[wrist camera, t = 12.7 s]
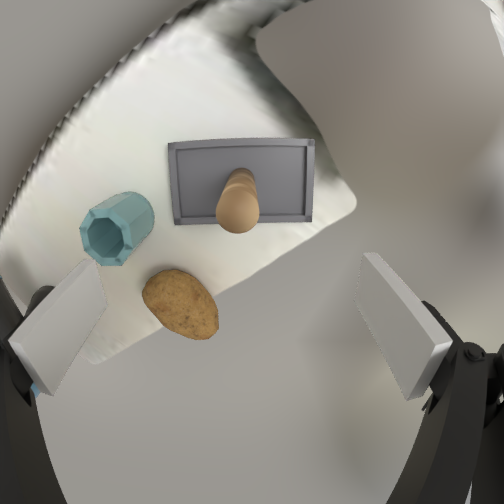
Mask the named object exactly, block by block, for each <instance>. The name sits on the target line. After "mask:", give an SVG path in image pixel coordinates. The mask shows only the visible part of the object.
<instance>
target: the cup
mask: <svg viewBox="0 0 504 504" xmlns="http://www.w3.org/2000/svg"><path fill="white" fill-rule="evenodd" d="M153 225H154V212H153V208H152V206H151V204H150V203H149V202H148V200H147V199H146V198H145V197H143V196H142V195H140V194H138V193H135V192H125V193H122V194H119V195H115V196H113V197H111V198H109V199H108V200H106V201H104V202H102V203H101V204H99V205H97V206H95V207H94V208H92V209H90V210H89V212H88V214H87V215H86V217H85V219H84V221H83V222H82V224H81V226H80V228H79V229H80V233H81V238H82V242H83V247H84V251H85V252H87V253H88V254H89V255H90V256H91V257H92V258H93V259H95V260H96V261H97V262H98V263H99V264H100V265H101V266H122V265H123V263H124V262H125V261H126V260H127V259H128V257H129V256H130V255H131V254H132V253H133V252H134V250H135V249H136V248H137V247H138V246H139V245H140V243H141V242H142V241H143V239H144V238H145V237H146V236H147V235H148V234H149V233H150V232H151V230H152V228H153Z"/></svg>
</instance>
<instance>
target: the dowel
mask: <svg viewBox="0 0 504 504" xmlns="http://www.w3.org/2000/svg"><path fill="white" fill-rule="evenodd" d="M216 218H217V221H218V223H219V224H220V225H221V227H222V228H224V229H225V230H227V231H228V232H231V233H244V232H247V231H249V230H250V229H252V228H253V227H254V226H255V225H256V223H257V221H258V219H259V205H258V199H257V192H256V186H255V179H254V175H253V173H252V172H251V171H250V170H248V169H246V168H237V169H235V170H234V171H232V173H231V174H230V176H229V179H228V181H227V183H226V186H225V188H224V190H223V193H222V195H221V197H220V200H219V202H218V204H217V207H216Z"/></svg>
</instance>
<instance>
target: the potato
mask: <svg viewBox="0 0 504 504" xmlns="http://www.w3.org/2000/svg"><path fill="white" fill-rule="evenodd" d="M142 297H143V300H144V303H145V304H146V306H147V307H148V308H149V309H150V311H151V312H152V313H153V314H154V315H155V316H156V317H157V318H158V320H159V321H160V322H161V323H162V324H163V326H165V327H166V328H168V329H169V330H171V331H173V332H176V333H178V334H181V335H183V336H185V337H187V338H191V339H194V340H204V339H209V338H210V337H211V336H212V335H214V334H215V333H216V331H217V330H218V329H219V324H218V309H217V307H216V304H215V301H214V300H213V298H212V297H211V295H210V294H209V293H208V291H207V290H206V289H205V288H204V287H203V285H202V284H201V283H200V282H199V281H198V280H197V279H196V278H194V277H192V276H191V275H189V274H187V273H185V272H181V271H178V270H165V271H162V272H160V273H158V274H157V275H155V276H153V277H151V278H150V279H149V280H148V282H147V283H146V285H145V287H144V289H143V291H142Z"/></svg>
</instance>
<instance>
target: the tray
mask: <svg viewBox="0 0 504 504" xmlns="http://www.w3.org/2000/svg"><path fill="white" fill-rule="evenodd" d="M314 148H315V139H301V138H231V139H211V140H196V141H184V142H173V143H168V153H169V169H170V182H171V194H172V204H173V214H174V224H175V225H191V224H219V223H218V221H217V218H216V207H217V204H218V202H219V200H220V197H221V195H222V193H223V190H224V188H225V186H226V183H227V181H228V179H229V176H230V174H231V173H232V171H234V170H235V169H237V168H246V169H248V170H250V171H251V172H252V173H253V175H254V179H255V186H256V192H257V199H258V205H259V219H258V221H257V223H270V222H312V209H313V186H314Z"/></svg>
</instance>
